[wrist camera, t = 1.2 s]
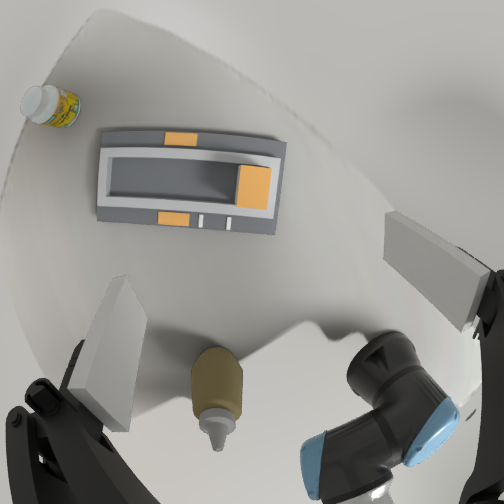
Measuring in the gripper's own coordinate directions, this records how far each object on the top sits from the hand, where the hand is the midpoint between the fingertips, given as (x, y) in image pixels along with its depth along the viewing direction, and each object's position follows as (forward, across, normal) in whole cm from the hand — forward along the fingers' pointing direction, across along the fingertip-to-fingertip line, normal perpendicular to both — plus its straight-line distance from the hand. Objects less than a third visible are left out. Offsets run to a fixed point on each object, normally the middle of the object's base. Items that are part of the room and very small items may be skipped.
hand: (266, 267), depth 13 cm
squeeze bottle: (+20, +8, +27) cm, 35 cm away
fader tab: (+22, -2, +1) cm, 22 cm away
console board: (+24, +5, -1) cm, 25 cm away
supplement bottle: (+28, +21, -16) cm, 39 cm away
